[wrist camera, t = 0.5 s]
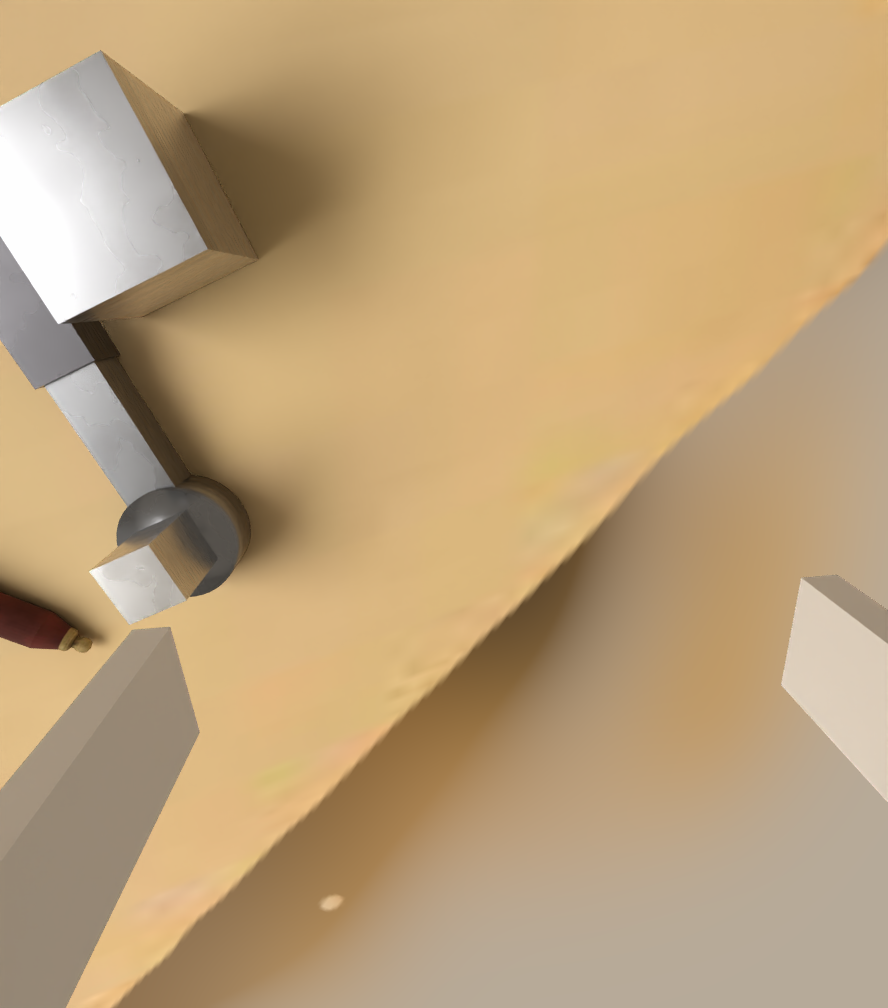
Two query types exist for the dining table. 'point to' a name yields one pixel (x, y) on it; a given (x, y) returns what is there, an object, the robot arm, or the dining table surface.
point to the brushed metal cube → (111, 197)
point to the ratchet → (126, 459)
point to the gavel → (37, 627)
